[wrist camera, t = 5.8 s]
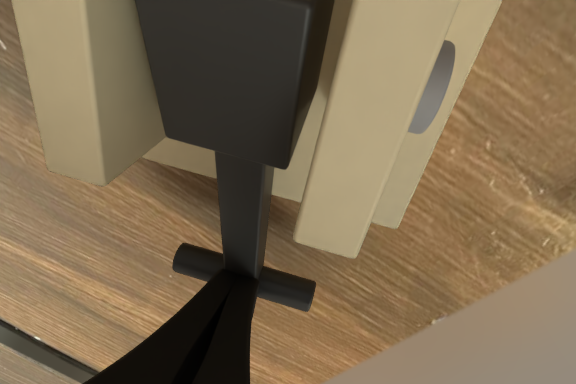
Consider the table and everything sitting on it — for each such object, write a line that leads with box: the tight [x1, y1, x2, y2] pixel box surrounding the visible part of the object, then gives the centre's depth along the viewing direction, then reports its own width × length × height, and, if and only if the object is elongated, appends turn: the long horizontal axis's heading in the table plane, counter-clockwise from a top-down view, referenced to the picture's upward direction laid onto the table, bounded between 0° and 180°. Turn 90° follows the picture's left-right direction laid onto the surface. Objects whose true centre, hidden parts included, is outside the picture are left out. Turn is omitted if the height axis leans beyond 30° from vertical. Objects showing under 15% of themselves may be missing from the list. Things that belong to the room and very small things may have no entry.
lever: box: [135, 0, 335, 312], centre depth 9 cm, size 11×5×2 cm, turn 169°
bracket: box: [11, 0, 502, 258], centre depth 7 cm, size 11×9×7 cm
